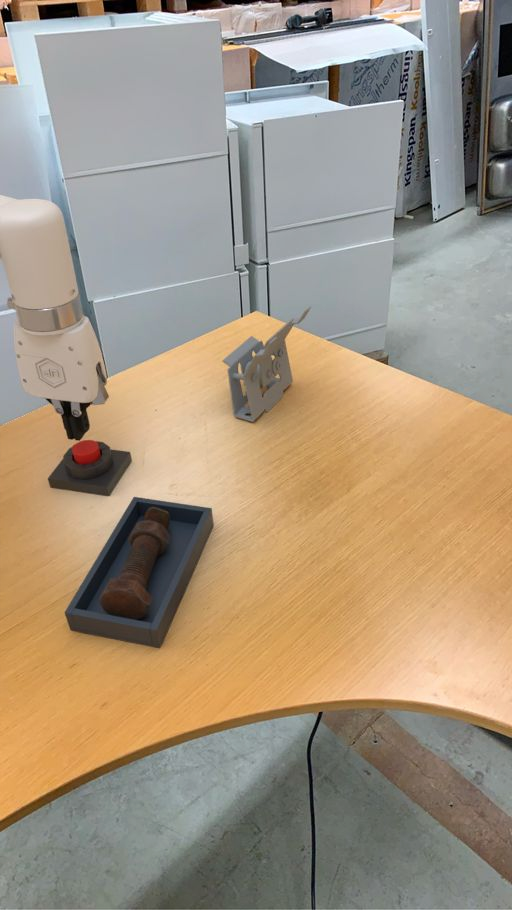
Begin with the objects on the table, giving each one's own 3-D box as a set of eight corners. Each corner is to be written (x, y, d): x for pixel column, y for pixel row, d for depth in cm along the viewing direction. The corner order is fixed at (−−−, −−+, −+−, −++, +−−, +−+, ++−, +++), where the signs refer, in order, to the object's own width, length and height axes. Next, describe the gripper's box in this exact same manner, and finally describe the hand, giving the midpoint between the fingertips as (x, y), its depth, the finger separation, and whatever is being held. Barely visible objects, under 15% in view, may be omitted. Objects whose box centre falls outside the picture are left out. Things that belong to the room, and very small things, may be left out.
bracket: (273, 430, 100) (270, 342, 91) (219, 413, 104) (211, 328, 95) (310, 389, 109) (311, 305, 100) (259, 376, 113) (255, 294, 104)
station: (50, 487, 91) (44, 468, 89) (76, 453, 98) (71, 434, 95) (109, 496, 89) (104, 476, 87) (132, 460, 96) (128, 441, 93)
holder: (70, 630, 72) (64, 612, 70) (137, 514, 86) (133, 496, 85) (160, 648, 70) (156, 630, 68) (213, 525, 84) (211, 507, 82)
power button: (70, 463, 91) (67, 453, 90) (81, 448, 93) (79, 438, 92) (93, 466, 90) (91, 456, 89) (104, 451, 93) (102, 441, 92)
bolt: (168, 536, 84) (134, 629, 72) (132, 519, 84) (92, 611, 72) (186, 508, 81) (154, 600, 69) (149, 490, 80) (110, 581, 68)
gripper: (-24, 318, 77) (15, 443, 88) (93, 331, 74) (118, 458, 85) (10, 292, 82) (43, 412, 94) (120, 302, 79) (140, 425, 91)
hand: (78, 434), depth 89 cm, fingers closed
